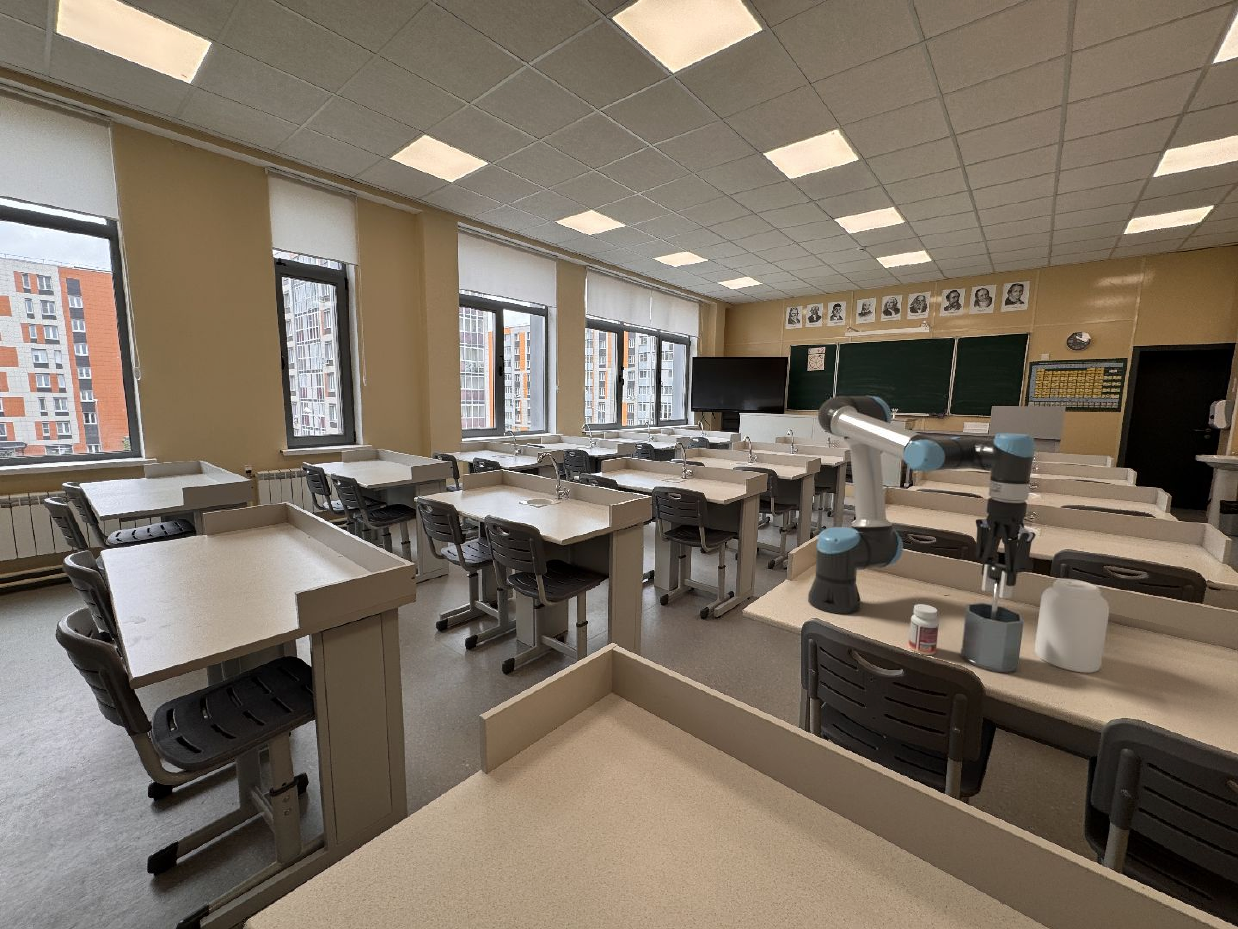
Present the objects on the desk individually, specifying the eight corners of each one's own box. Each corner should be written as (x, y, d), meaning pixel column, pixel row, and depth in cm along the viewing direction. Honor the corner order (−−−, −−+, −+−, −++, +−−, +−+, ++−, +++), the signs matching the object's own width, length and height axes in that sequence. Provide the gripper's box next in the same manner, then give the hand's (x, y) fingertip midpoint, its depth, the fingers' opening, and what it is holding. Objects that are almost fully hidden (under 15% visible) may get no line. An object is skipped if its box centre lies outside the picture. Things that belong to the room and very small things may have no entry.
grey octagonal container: (949, 651, 134) (954, 605, 132) (994, 645, 137) (999, 600, 135) (989, 675, 123) (995, 625, 121) (1038, 669, 126) (1044, 620, 124)
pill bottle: (940, 651, 134) (944, 609, 132) (928, 658, 130) (932, 615, 129) (916, 641, 139) (919, 601, 137) (903, 648, 135) (907, 606, 134)
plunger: (960, 648, 132) (969, 561, 129) (987, 645, 134) (998, 559, 131) (990, 665, 124) (1001, 573, 121) (1018, 661, 126) (1030, 571, 122)
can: (1031, 661, 129) (1041, 584, 126) (1036, 642, 138) (1046, 570, 135) (1099, 680, 121) (1112, 598, 118) (1100, 659, 130) (1112, 583, 127)
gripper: (963, 492, 131) (954, 581, 134) (1029, 508, 114) (1016, 609, 118) (988, 491, 132) (978, 579, 136) (1057, 506, 116) (1043, 606, 119)
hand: (996, 593), depth 127 cm, fingers closed on plunger, 4 cm apart
